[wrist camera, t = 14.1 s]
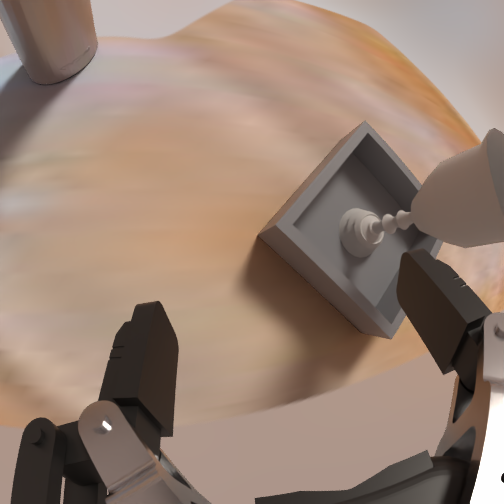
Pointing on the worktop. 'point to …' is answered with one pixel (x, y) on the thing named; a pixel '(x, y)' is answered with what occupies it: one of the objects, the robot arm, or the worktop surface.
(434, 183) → the chalice
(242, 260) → the worktop surface
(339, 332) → the worktop surface
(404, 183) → the box
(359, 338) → the worktop surface
